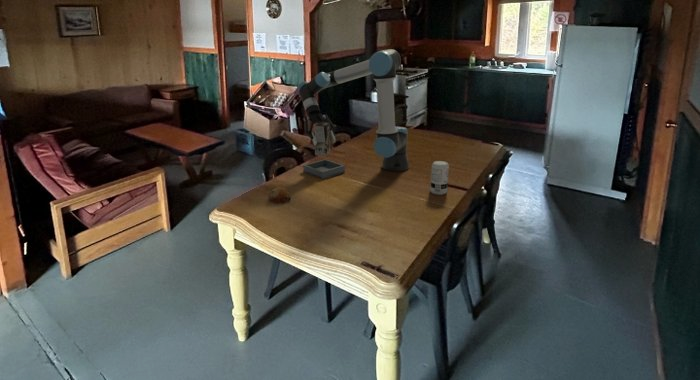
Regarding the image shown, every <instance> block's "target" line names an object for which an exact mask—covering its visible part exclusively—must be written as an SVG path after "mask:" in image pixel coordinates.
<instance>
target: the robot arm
mask: <svg viewBox="0 0 700 380" xmlns="http://www.w3.org/2000/svg"><path fill="white" fill-rule="evenodd" d="M401 62H402V59H401V55H400V53H399V52H398V51H397V50H395V49H394V48H393V49H392V48H388V49H382V50H378V51H376V52H374V53H373V54H372V55H371V57H370V58H369V59H367V60H364V61H362V62H361V61H360V62H358V63H354V64H352V65H349V66H346V67H342V68H339V69H336V70H333V71H330V72H324V71H321V72H319V73H317V74H316V75H315V76H314V77H313V78H312V79H310V80H309V81H306V80H305V81H302V82H300V83H299V84H298V85H297V91H298V95H299V98H300V99H301V101H302V105H303V107H304V110H305V112H306V115H307V116H306V115H304V117H303V118H302V120H303V123H304V124H303V127H304V134H305V135H307V136H308V137H309V140H311V141H312V143H313V145H314V147H315V146H316V144H317V141H316V138H315V132H313V128H314V125H316V124H318V123H319V122H326V123H330V140H331V143H333V144H334V143H336V141H337V140H336V137H335V136H336V133H335V130H336V129H337V127H336V126H335V124H334V123H333V122H332V120H331V119H330V117H329V116H328V115H329V114H328V113H325V114H322V112H321V109H320V106H319V104H318V101H317V98H316V95H317V94H319V92H321V91H322V90H324V89H327V88H330V87H334V86H337V85H339V84H343V83H346V82H349V81H353V80H356V79H359V78H362V77H366V76H369V75H372V79H373V80H374V81H375V84H376V100H377V103H376V104H377V118H378V119H377V122H378V123H377V124H378V128H377V130H376V131H375V134H376V135H375V136H376V139H375V141H374V143H373V149H374V152H375V153H376V154H377V155H378V156H379V157H381V158H383V160H382V162H381V168H382V169H384V170H386V171H390V172H404V171H407V170H409V169H410V162H409V158H408V154H407V151H408V150H407V149H408V135H409V133H408V128H407V127H403V126H396V119H395V118H396V115H395V113H396V112H395V93H394V80H395V79H396V78H397V75H396V74H397V73H396V72H397V70H398V69H399V67H400V66H401ZM308 121H310V126H309V122H308Z"/></svg>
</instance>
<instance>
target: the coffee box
mask: <svg viewBox="0 0 700 380" xmlns="http://www.w3.org/2000/svg"><path fill="white" fill-rule="evenodd" d="M314 136H315V138H316V141H317V144H316V146H314V155H315V156H320V157H327V155H329V153H330V152H331V137H330V123H327V122H326V121H325V122H322V121H321V122H319V123H316V124H314Z"/></svg>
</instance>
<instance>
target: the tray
mask: <svg viewBox="0 0 700 380" xmlns="http://www.w3.org/2000/svg"><path fill="white" fill-rule="evenodd" d="M302 166H303V168H302V169H303V173H305V174H307V175H311V176H313V177H315V178H318V179H320V180H325V179H328V178H332V177H335V176H338V175H341V173H342V174H346V165H345V164H342V163H338V162H335V161H332V160H330V159H326V158H325V159H320V160H317V161H313V162H310V163H307V164H303V165H302Z"/></svg>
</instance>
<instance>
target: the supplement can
mask: <svg viewBox="0 0 700 380" xmlns="http://www.w3.org/2000/svg"><path fill="white" fill-rule="evenodd" d="M430 171H431V172H430V187H429V188H430V189H429V190H430V193H432V194H433V195H440V196H441V195H445V194H446V193H447V192H448V184H449V173H450V165H449V163H448V161H444V160H435V161H433V163H432V164H431V169H430Z"/></svg>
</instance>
